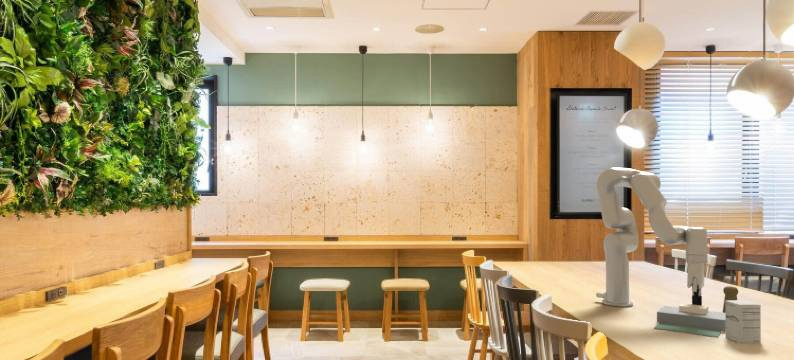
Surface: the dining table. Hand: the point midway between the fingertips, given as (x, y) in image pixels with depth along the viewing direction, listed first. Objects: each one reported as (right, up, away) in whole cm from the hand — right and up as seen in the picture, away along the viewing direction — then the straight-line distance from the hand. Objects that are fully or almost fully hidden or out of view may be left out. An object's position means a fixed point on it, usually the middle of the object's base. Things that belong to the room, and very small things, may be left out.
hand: (696, 305), depth 212 cm
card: (-5, -1, -7) cm, 8 cm away
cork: (+18, -5, +8) cm, 20 cm away
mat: (-14, -4, -19) cm, 24 cm away
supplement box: (-3, -4, -33) cm, 33 cm away
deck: (-6, -5, -9) cm, 12 cm away
